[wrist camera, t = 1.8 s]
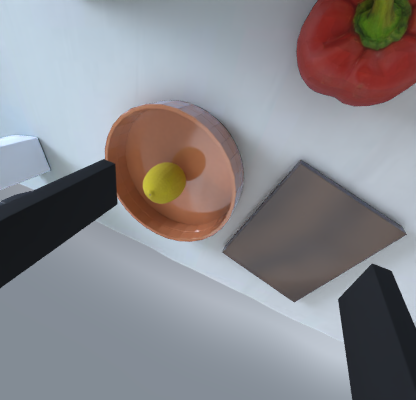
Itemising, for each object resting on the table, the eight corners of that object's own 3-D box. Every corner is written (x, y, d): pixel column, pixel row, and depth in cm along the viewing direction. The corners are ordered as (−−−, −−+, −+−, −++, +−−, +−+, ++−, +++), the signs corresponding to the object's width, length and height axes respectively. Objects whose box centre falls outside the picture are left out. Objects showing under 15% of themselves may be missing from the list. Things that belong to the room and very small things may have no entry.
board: (224, 246, 40) (222, 252, 39) (301, 159, 28) (300, 163, 27) (294, 295, 39) (294, 302, 38) (402, 227, 27) (407, 234, 26)
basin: (114, 182, 42) (96, 192, 38) (143, 68, 30) (120, 68, 26) (204, 245, 41) (195, 262, 38) (274, 155, 29) (269, 167, 25)
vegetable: (289, -1, 21) (279, -45, 13) (434, -75, 17) (557, -214, 8) (306, 114, 25) (306, 135, 17) (426, 81, 21) (504, 88, 13)
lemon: (190, 193, 36) (165, 219, 30) (161, 180, 37) (130, 202, 31) (197, 163, 33) (171, 185, 27) (165, 150, 34) (132, 168, 28)
